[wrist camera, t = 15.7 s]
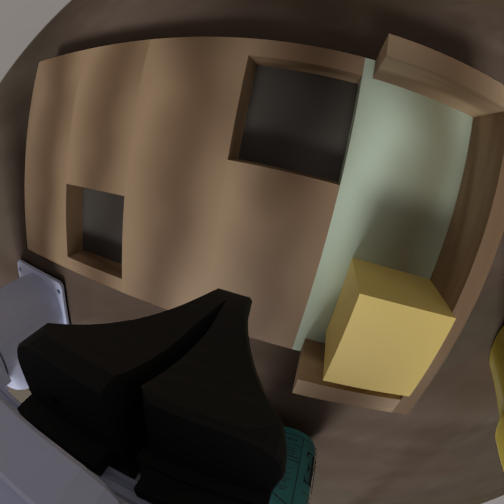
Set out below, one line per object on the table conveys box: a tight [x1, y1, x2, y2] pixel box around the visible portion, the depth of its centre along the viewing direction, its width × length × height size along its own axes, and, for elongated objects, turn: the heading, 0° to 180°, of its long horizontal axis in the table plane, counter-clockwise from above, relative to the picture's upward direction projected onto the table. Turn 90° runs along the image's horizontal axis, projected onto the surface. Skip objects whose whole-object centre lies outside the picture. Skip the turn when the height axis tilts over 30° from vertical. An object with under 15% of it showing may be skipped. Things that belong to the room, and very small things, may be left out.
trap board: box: [25, 34, 504, 414], centre depth 14 cm, size 30×16×6 cm, turn 79°
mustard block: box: [323, 258, 456, 396], centre depth 13 cm, size 4×4×4 cm
